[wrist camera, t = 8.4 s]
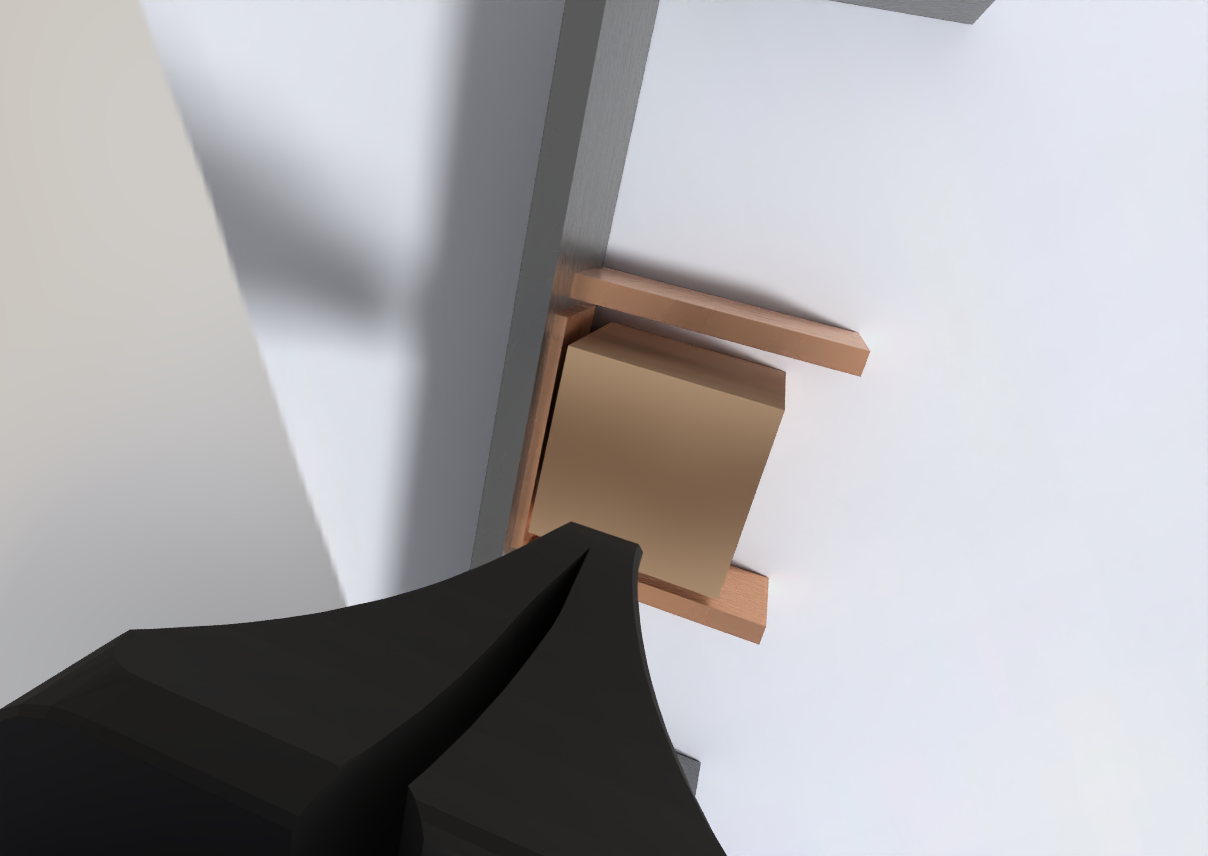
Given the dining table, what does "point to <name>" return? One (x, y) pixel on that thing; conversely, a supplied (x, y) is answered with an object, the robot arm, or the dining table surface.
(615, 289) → the rack
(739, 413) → the walnut block
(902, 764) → the dining table surface
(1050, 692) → the dining table surface
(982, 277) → the dining table surface
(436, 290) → the dining table surface
